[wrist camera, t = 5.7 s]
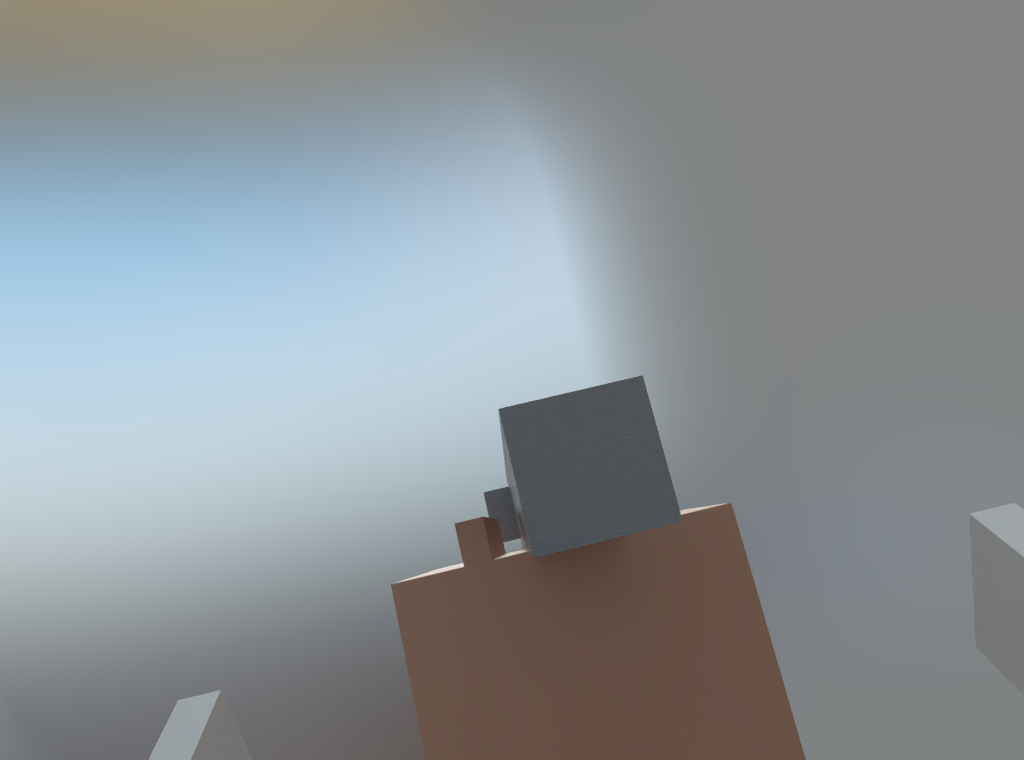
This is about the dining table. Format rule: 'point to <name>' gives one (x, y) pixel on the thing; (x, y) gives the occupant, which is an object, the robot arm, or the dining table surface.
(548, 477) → the t bar
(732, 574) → the stand
